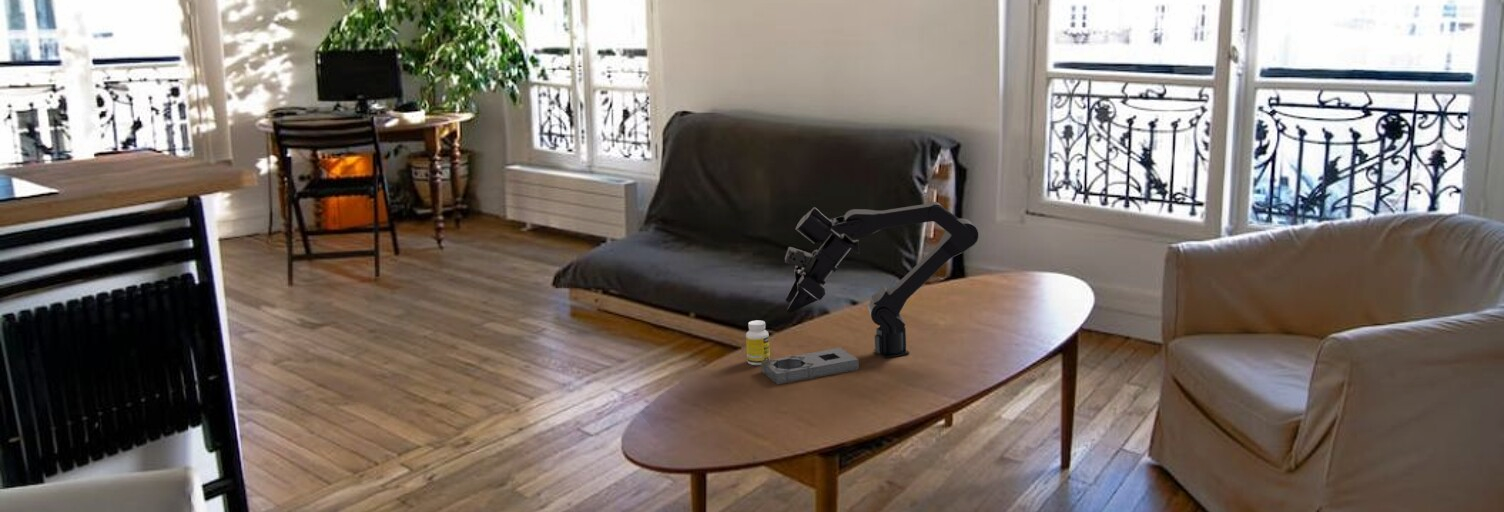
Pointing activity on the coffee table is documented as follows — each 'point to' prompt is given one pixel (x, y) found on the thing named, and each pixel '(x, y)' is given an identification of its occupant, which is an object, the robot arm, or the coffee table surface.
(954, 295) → the coffee table surface
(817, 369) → the socket plate
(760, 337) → the supplement bottle
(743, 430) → the coffee table surface
